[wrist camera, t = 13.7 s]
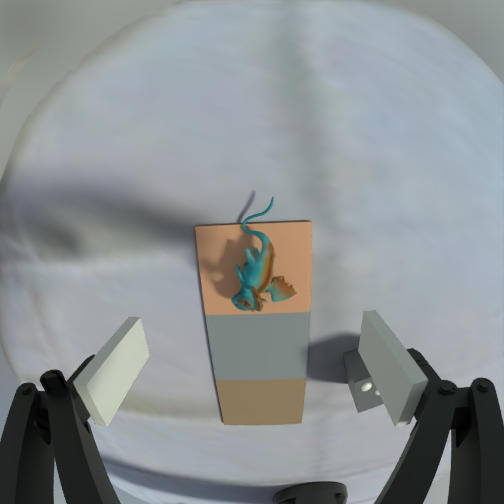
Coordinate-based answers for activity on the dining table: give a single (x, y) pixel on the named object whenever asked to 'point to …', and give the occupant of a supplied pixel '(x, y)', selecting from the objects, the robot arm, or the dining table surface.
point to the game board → (257, 323)
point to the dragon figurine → (259, 275)
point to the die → (361, 382)
